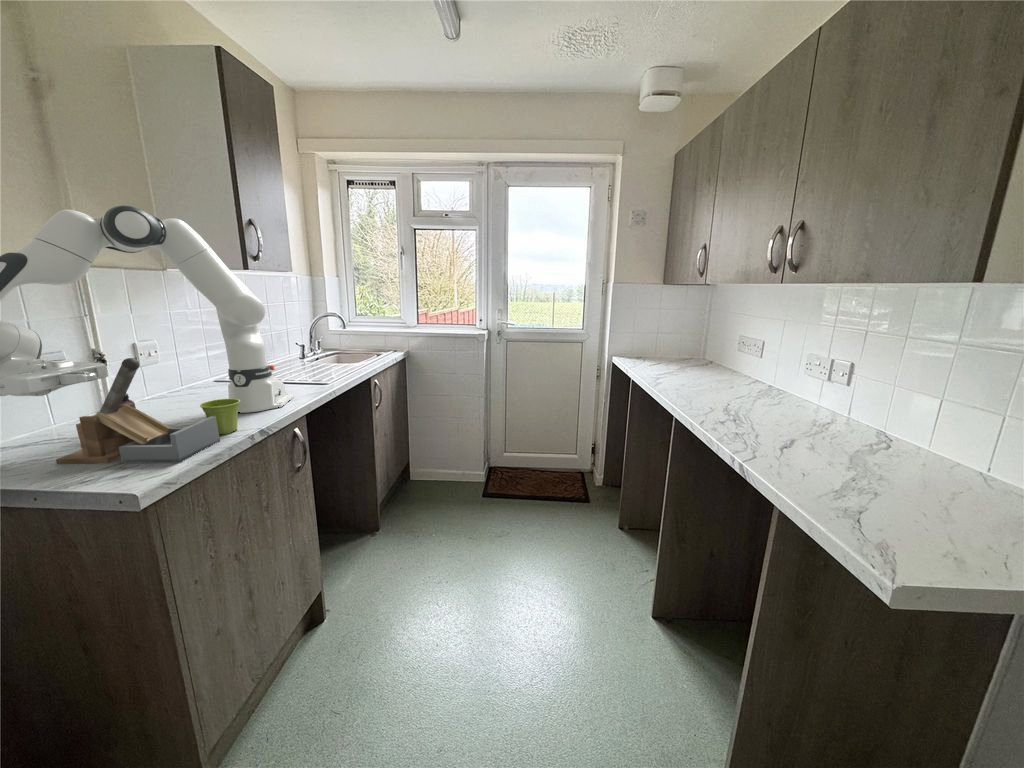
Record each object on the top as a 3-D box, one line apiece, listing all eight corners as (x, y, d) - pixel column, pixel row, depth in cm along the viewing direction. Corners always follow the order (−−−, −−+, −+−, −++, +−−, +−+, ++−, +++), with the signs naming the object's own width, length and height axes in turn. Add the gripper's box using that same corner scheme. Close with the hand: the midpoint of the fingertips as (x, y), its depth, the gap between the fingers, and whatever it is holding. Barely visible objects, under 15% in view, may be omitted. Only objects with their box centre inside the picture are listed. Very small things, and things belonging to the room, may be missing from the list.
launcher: (116, 407, 106) (142, 352, 103) (167, 435, 108) (194, 382, 105) (83, 417, 98) (110, 358, 95) (139, 448, 100) (167, 390, 97)
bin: (169, 441, 112) (163, 417, 110) (220, 441, 112) (215, 416, 110) (122, 463, 98) (115, 435, 96) (180, 462, 98) (174, 434, 97)
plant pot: (237, 424, 126) (233, 396, 124) (249, 430, 120) (244, 401, 118) (200, 432, 119) (195, 403, 117) (211, 439, 113) (205, 409, 111)
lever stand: (111, 442, 111) (102, 403, 109) (156, 442, 111) (148, 402, 109) (56, 464, 98) (44, 419, 95) (108, 463, 98) (97, 418, 95)
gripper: (-25, 373, 89) (41, 372, 89) (71, 358, 109) (125, 358, 109) (-17, 401, 90) (48, 401, 90) (77, 381, 110) (130, 381, 110)
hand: (91, 377), depth 100 cm, fingers closed
